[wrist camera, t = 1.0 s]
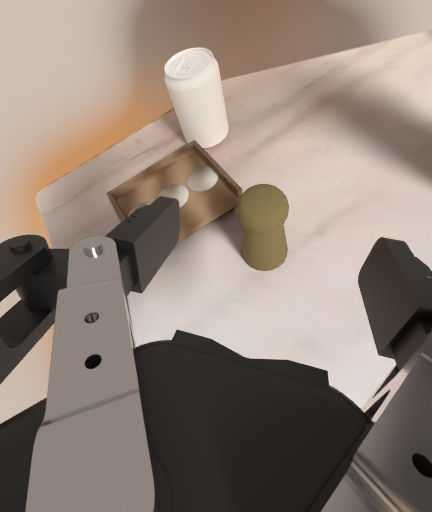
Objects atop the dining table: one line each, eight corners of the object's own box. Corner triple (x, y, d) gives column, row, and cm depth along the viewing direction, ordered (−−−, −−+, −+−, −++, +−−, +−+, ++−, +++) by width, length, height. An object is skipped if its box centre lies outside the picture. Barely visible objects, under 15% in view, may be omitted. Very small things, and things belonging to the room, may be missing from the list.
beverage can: (235, 122, 46) (225, 45, 35) (219, 154, 43) (202, 81, 32) (196, 118, 48) (176, 45, 38) (178, 148, 46) (151, 79, 35)
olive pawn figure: (232, 255, 34) (217, 207, 24) (258, 223, 36) (254, 166, 26) (270, 279, 32) (270, 236, 22) (296, 244, 33) (307, 189, 23)
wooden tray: (200, 159, 43) (194, 139, 40) (244, 207, 37) (241, 188, 34) (121, 209, 42) (106, 193, 38) (152, 266, 36) (139, 254, 32)
